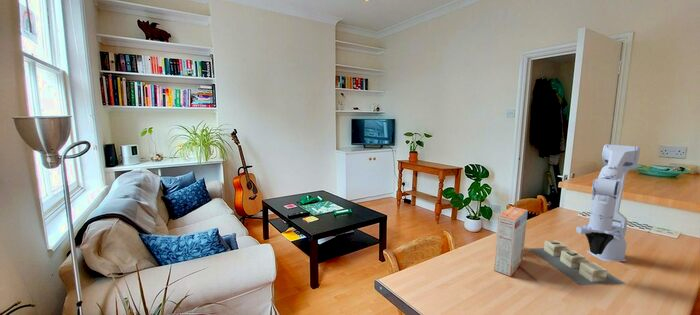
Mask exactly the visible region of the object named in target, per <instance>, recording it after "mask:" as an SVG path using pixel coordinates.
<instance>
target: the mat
mask: <svg viewBox="0 0 700 315" xmlns="http://www.w3.org/2000/svg"><path fill="white" fill-rule="evenodd" d="M528 250H529V251H530V252H532V253H534V254H535V255H536V256H538V257H539V258H541V259H542V260H543V261H545V262H547V263H548V264H549V265H550V266H552V267H553V268H555V269H556V270H558V271H560V273H562V274H563V275H564V276H566V277H568V278H569V279H571V280H572V281H573V282H574V283H576V284H577V285H579V286H585V285H586V286H591V285H592V286H593V285H595V286H596V285H620V284H625V285H626V282H625V281H623V280H621V279H619V278H617V277H615V276H614V275H612V274H611V273H609V272H607V277H606V281H598V282H591V281H590V280H588V279H587V278H585V277H584V276H582V275H581V274H579V269H580V268H570V267H569V266H567V265H566V264H564V263H563V262H561V261H560V257H561V256H552V255H551V254H549V253H548V252H546V251H544V247H540V248H539V247H538V248H537V247H536V248H534V247H531V248H528ZM566 251H571V250H570V249H568V248H567V247H566ZM587 262H590V261H589V260H587V259H585V263H587Z"/></svg>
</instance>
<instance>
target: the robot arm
mask: <svg viewBox="0 0 700 315" xmlns="http://www.w3.org/2000/svg"><path fill="white" fill-rule="evenodd" d="M640 152H641V147H640V146H639V145H636V146H635V145H634V146H633V145H621V144H608V143H606V144H605V145H603V148H602V153H601V159H602V163H603V167H602V168H601V170H600V172H599V173H598V174H599V175H598V177H597V178H594V179H593V181H592V186H591V201H592V202H591V208H590V216H589V222H588V224H583V225H578V226H576V228H575V230H576V231H575V232H576V233H577V234H579V235H585V238H586V239H587V242H588V245H589V250H586V251H585V252H587V253H588V254H590V255H591V256H593V257H595V258H597V259H599V260H601V261H603V262H616V261H617V262H627V259H626V258H625V255H626V250H627V242H626V239H625V236H626V233H627V227H628V225H627V224H628V219H627V217H626V216H625V215H624V214H623V213H622V212H620V208H621V204H622V203H621V202H622V197H623V193H624V192H623V191H624V187H625V182H626V181H625V180H626V176H627V174H628V172H629V170H634V169H636V168H637V167H638V162H639V159H640V154H641V153H640Z"/></svg>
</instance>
